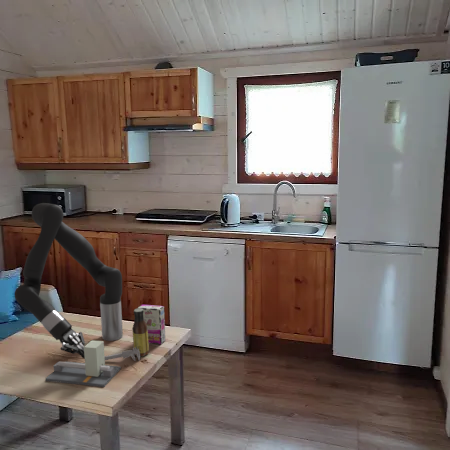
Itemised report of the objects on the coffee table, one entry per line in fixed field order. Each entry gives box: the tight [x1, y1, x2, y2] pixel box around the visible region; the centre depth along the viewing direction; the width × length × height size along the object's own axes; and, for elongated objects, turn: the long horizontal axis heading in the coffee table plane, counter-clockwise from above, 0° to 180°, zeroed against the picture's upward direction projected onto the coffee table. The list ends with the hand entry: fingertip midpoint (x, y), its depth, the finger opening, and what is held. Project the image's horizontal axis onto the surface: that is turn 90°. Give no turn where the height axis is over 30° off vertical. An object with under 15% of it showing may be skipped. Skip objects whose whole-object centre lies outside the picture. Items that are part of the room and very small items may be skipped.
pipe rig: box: [45, 361, 122, 388], centre depth 173 cm, size 14×24×4 cm, turn 78°
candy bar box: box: [137, 304, 166, 345], centre depth 202 cm, size 11×5×16 cm, turn 74°
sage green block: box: [84, 340, 106, 377], centre depth 171 cm, size 6×5×12 cm
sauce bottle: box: [131, 307, 150, 357], centre depth 189 cm, size 6×6×20 cm
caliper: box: [105, 346, 141, 362], centre depth 184 cm, size 20×1×6 cm, turn 93°
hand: (87, 357), depth 172 cm, fingers closed
